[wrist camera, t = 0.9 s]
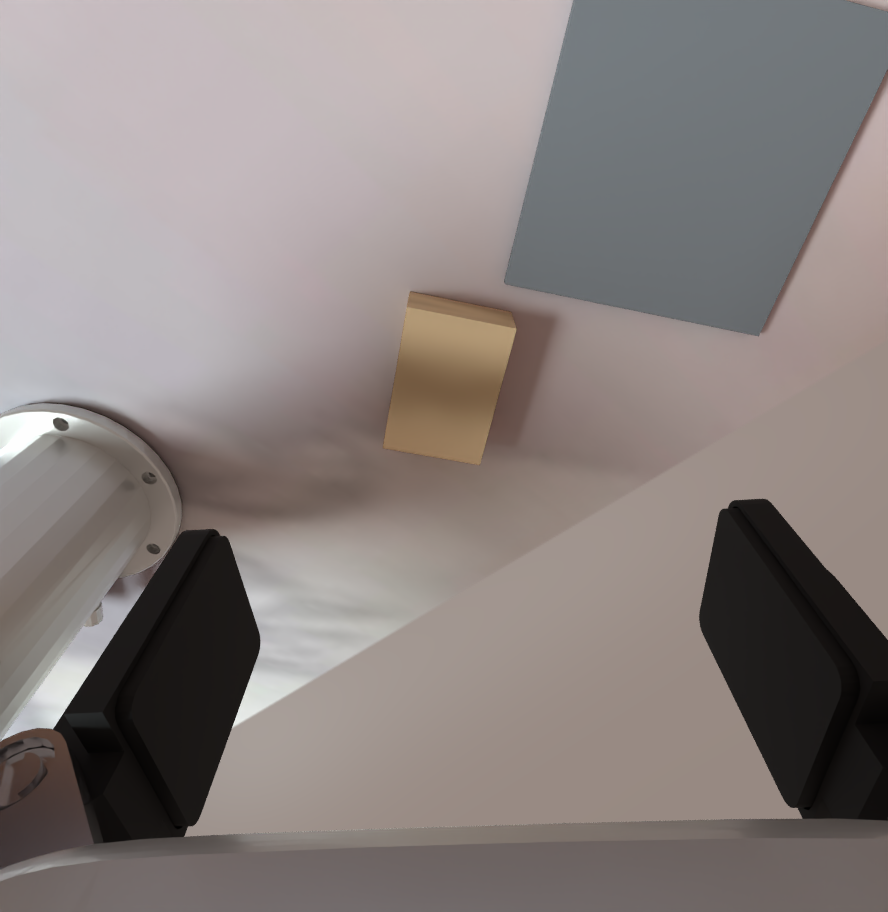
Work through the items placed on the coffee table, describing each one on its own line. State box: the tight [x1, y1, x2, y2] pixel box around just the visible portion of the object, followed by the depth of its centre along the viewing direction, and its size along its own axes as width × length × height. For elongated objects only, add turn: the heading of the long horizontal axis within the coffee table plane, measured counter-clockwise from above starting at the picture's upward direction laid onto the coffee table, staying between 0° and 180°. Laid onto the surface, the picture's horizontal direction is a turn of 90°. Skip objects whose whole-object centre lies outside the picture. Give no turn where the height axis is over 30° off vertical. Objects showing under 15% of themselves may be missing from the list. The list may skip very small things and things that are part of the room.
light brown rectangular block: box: [383, 292, 517, 465], centre depth 32 cm, size 8×6×3 cm
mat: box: [504, 0, 888, 336], centre depth 27 cm, size 14×14×1 cm
